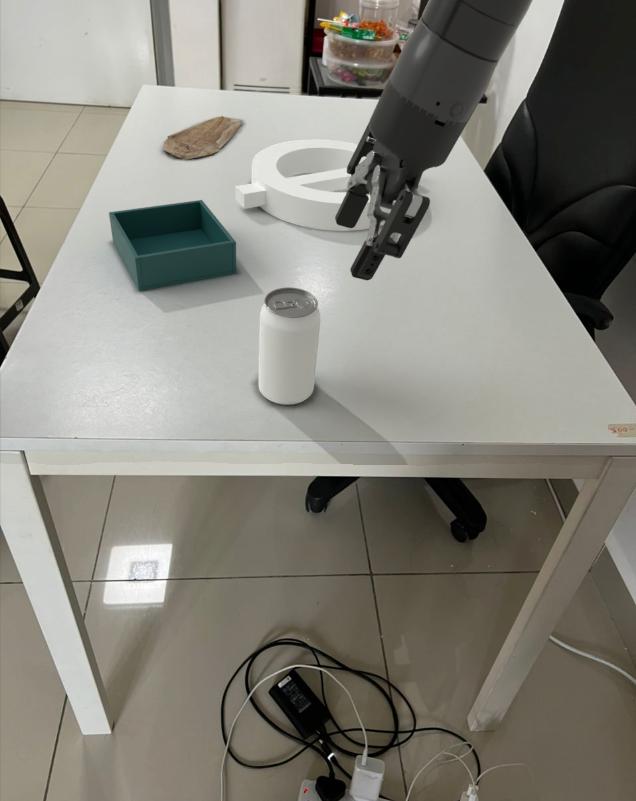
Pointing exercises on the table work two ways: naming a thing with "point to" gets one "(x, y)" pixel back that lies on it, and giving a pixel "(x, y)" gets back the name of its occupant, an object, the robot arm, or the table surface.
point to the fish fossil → (202, 138)
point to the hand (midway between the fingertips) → (351, 249)
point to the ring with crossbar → (303, 183)
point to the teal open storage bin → (172, 244)
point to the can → (288, 345)
